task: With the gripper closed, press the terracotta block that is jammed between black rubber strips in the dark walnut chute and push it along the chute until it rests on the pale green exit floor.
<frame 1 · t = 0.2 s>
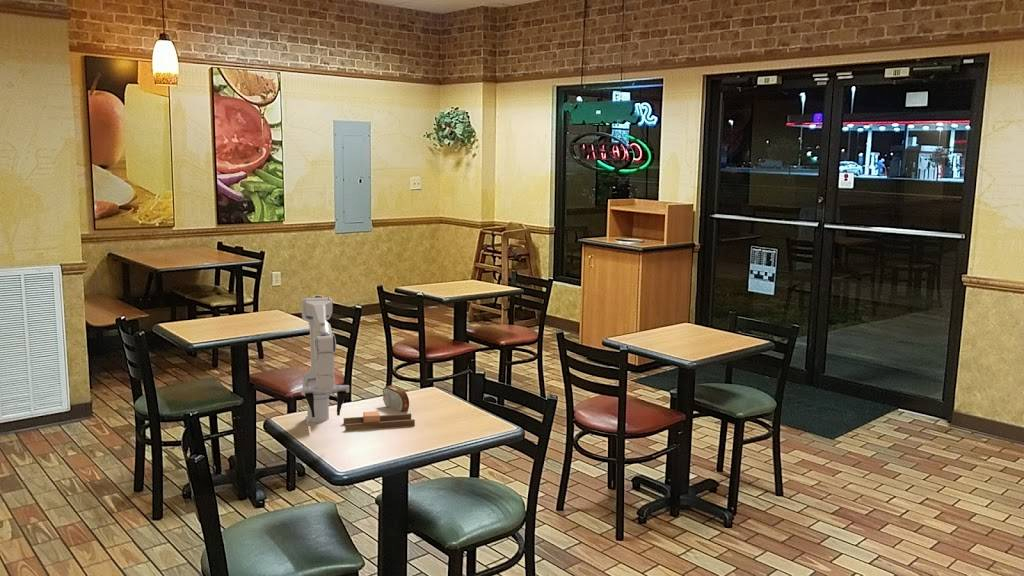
hand: (325, 415, 256), 10 cm above the table, fingers open, 7 cm apart
block: (371, 419, 276), point 3 cm above the table, slide at 0.0 cm
tin: (395, 410, 298), on the table
chute: (379, 427, 277), on the table
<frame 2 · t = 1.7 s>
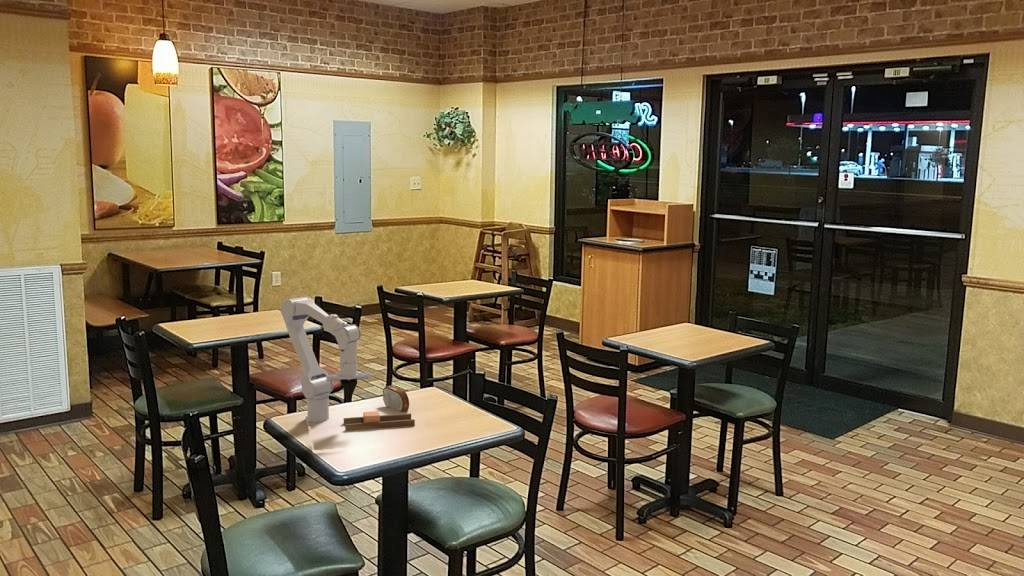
hand: (349, 401, 273), 10 cm above the table, fingers closed
nothing on the table moved.
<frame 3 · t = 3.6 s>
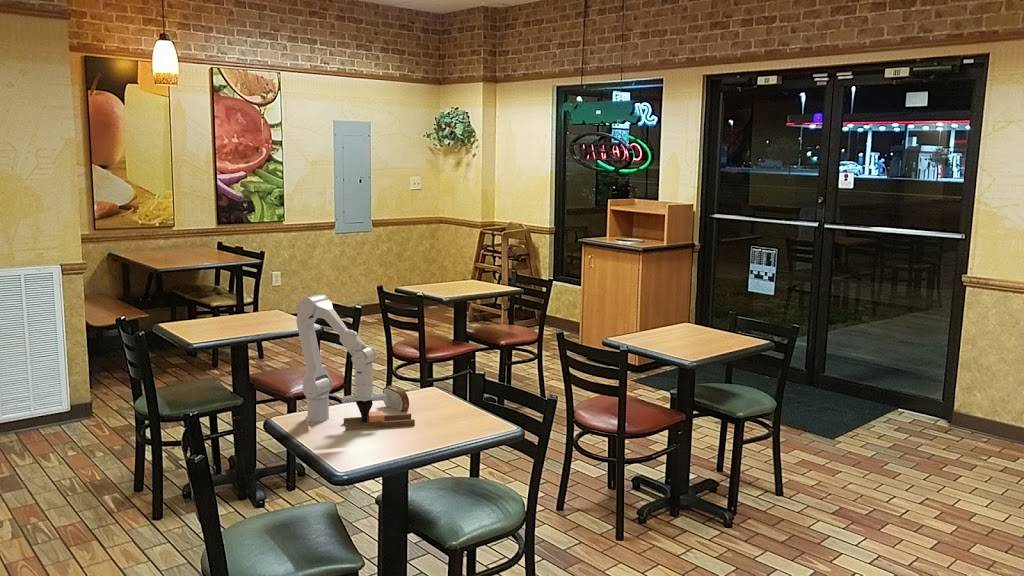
hand: (364, 422, 275), 2 cm above the table, fingers closed
block: (376, 419, 276), point 3 cm above the table, slide at 1.5 cm, touching gripper
everything else where it was.
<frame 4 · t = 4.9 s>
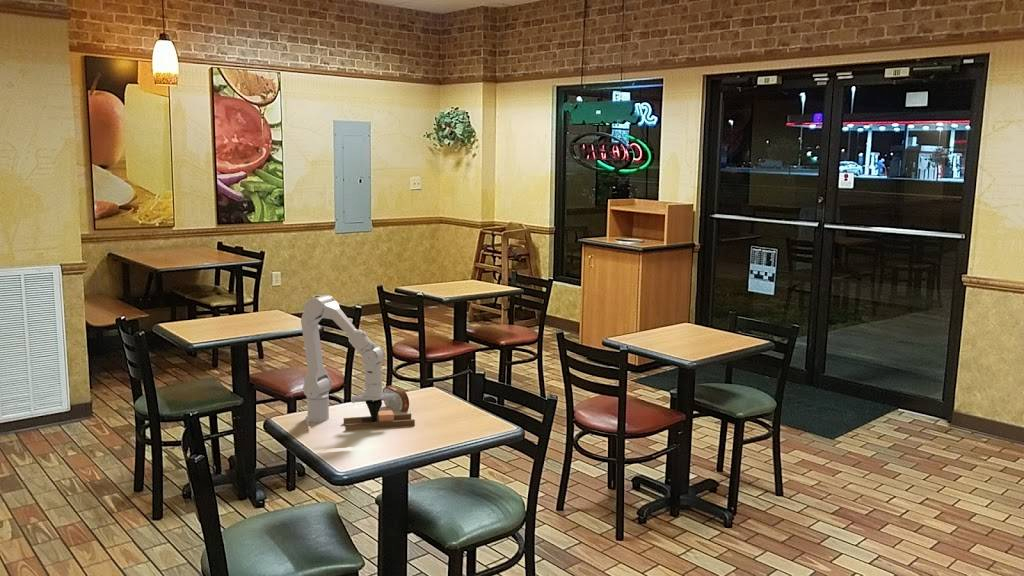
hand: (373, 421, 276), 2 cm above the table, fingers closed
block: (385, 418, 277), point 3 cm above the table, slide at 4.6 cm, touching gripper
everything else where it was.
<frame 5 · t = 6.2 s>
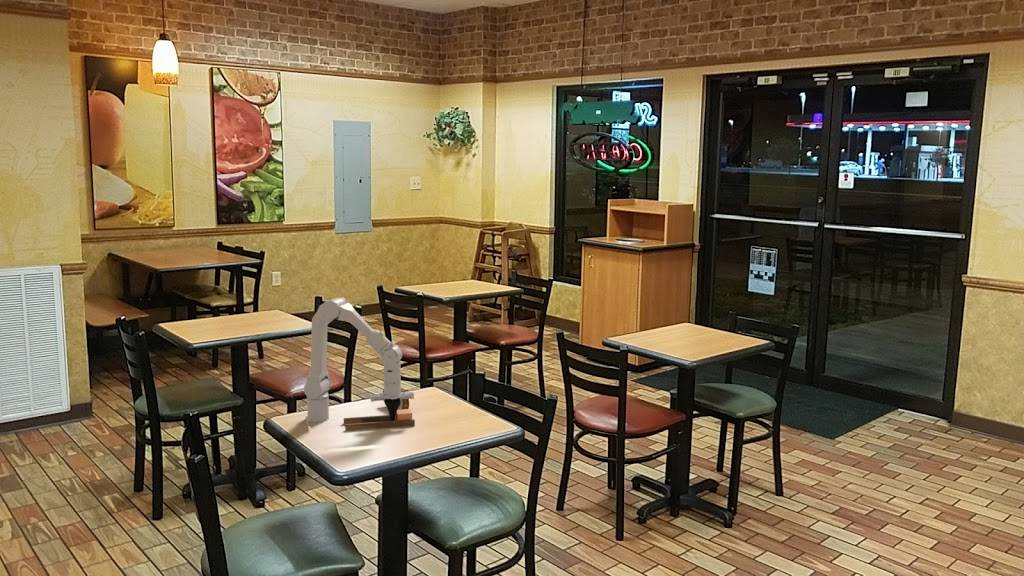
hand: (392, 420, 278), 2 cm above the table, fingers closed
block: (403, 417, 279), point 3 cm above the table, slide at 10.9 cm, touching gripper
everything else where it was.
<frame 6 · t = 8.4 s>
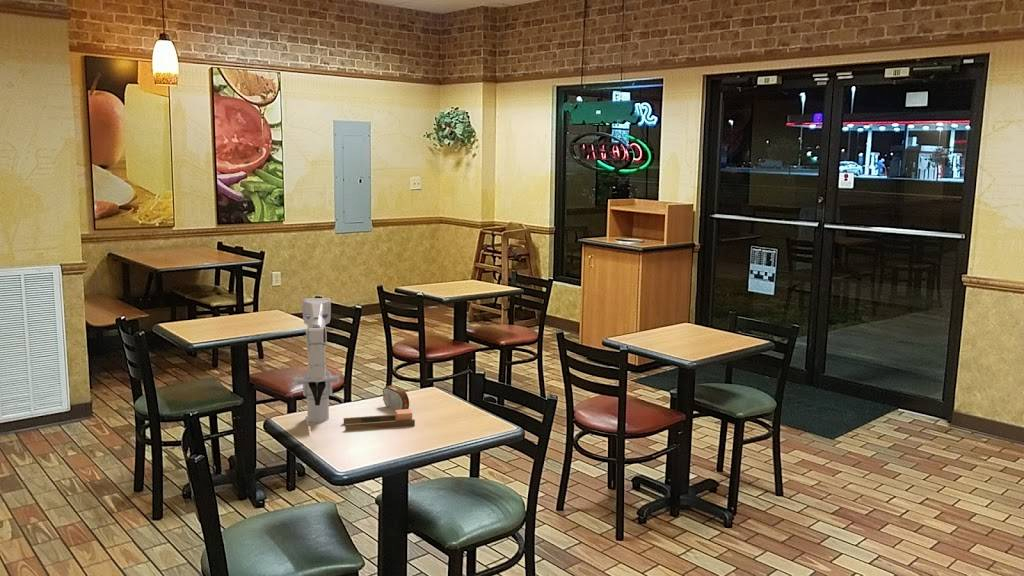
hand: (317, 404, 268), 10 cm above the table, fingers closed
block: (403, 417, 279), point 3 cm above the table, slide at 10.9 cm
everything else where it was.
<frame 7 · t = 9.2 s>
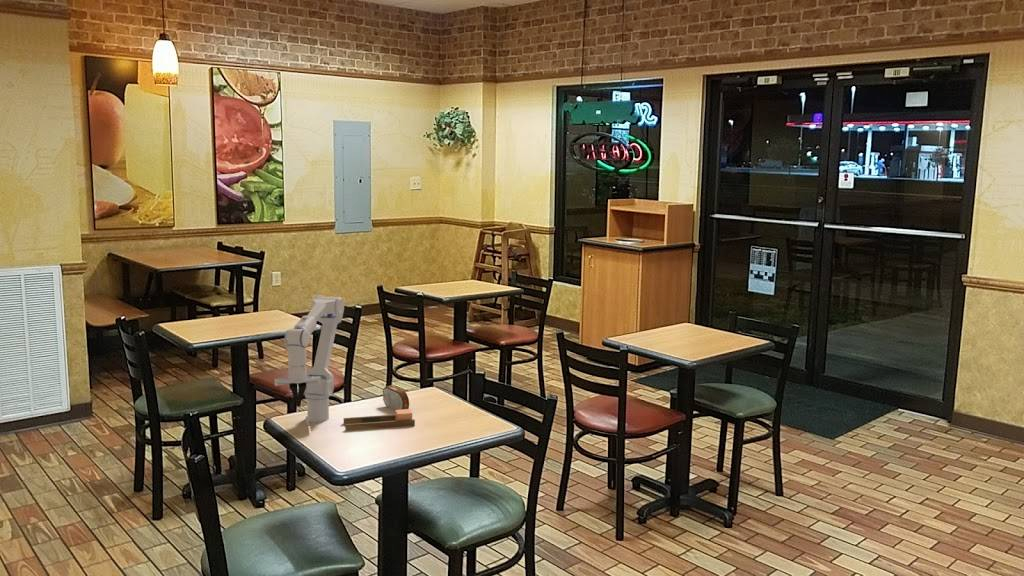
hand: (298, 405, 266), 10 cm above the table, fingers closed
nothing on the table moved.
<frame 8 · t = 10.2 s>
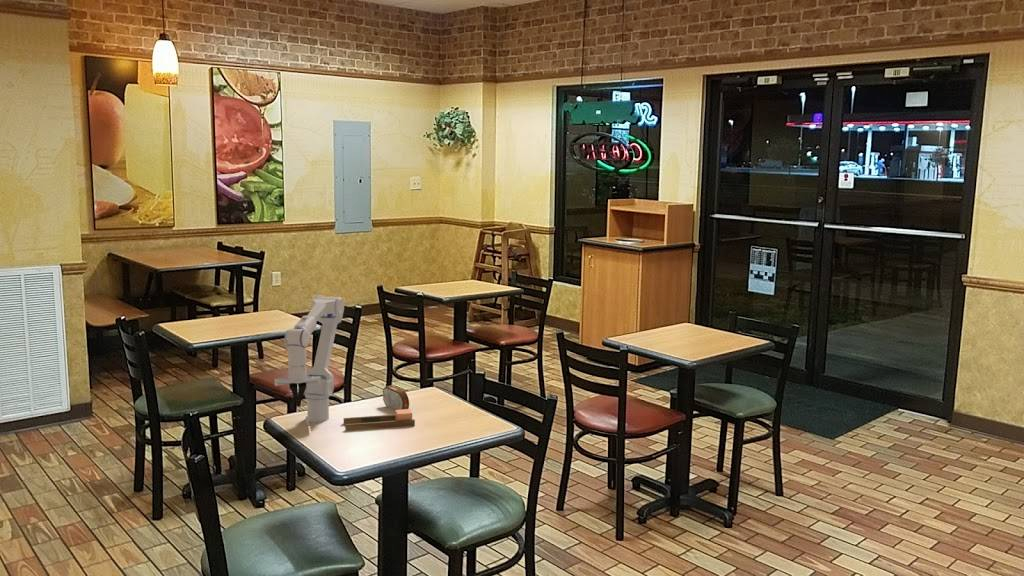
hand: (298, 405, 266), 10 cm above the table, fingers closed
nothing on the table moved.
at the end: block slide at 10.9 cm; block inside the target area (0.6 cm from its centre), point 3.1 cm above the table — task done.
